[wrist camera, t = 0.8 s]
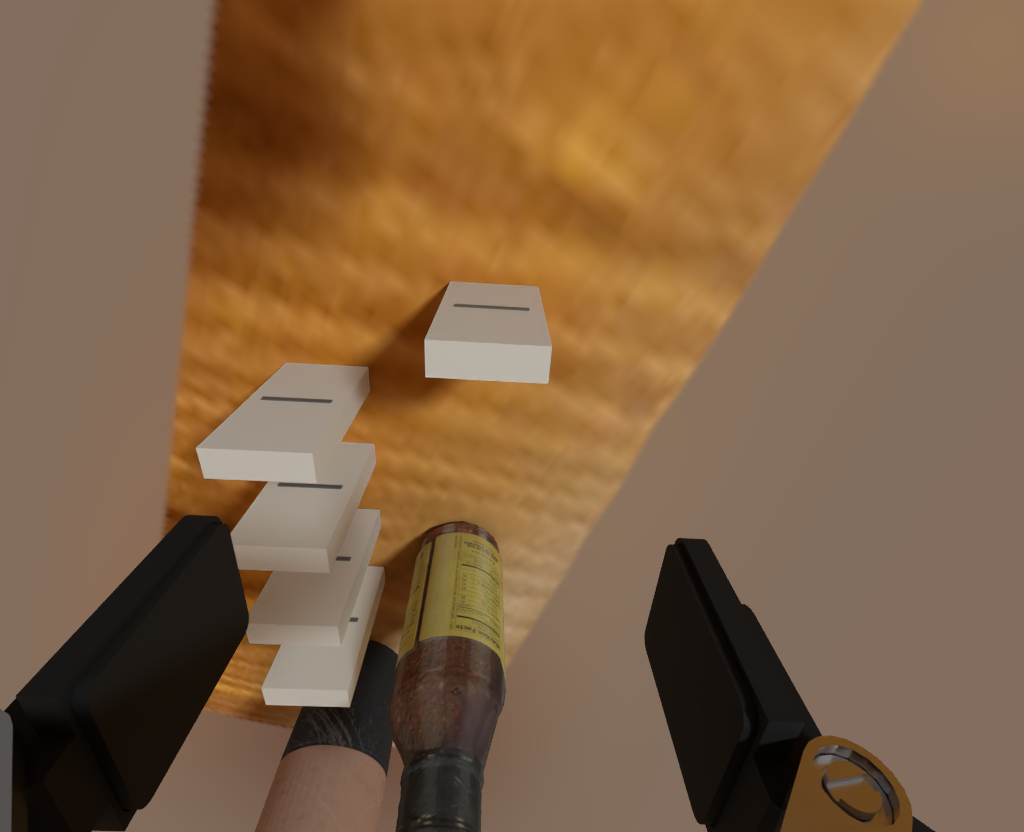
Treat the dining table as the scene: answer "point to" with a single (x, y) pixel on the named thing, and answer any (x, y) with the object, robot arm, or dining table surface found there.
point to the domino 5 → (489, 334)
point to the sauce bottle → (449, 679)
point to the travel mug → (337, 758)
